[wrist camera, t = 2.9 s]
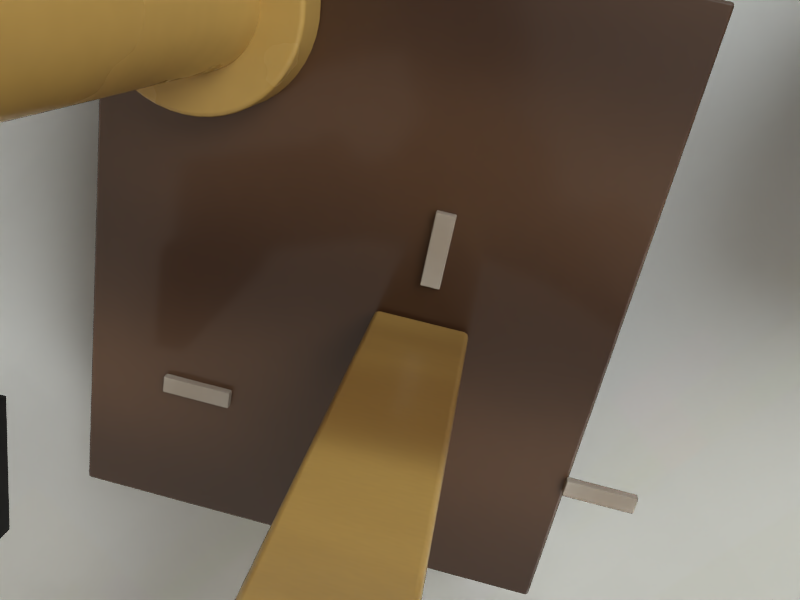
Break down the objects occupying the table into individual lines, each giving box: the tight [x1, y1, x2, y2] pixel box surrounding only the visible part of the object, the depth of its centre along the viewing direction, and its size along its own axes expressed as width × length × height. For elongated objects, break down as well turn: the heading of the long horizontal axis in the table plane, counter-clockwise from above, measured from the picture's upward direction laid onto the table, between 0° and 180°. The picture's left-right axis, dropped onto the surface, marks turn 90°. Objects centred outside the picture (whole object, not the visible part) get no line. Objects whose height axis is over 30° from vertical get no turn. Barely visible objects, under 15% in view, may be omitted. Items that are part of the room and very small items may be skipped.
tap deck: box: [89, 0, 734, 594], centre depth 15 cm, size 14×11×3 cm
